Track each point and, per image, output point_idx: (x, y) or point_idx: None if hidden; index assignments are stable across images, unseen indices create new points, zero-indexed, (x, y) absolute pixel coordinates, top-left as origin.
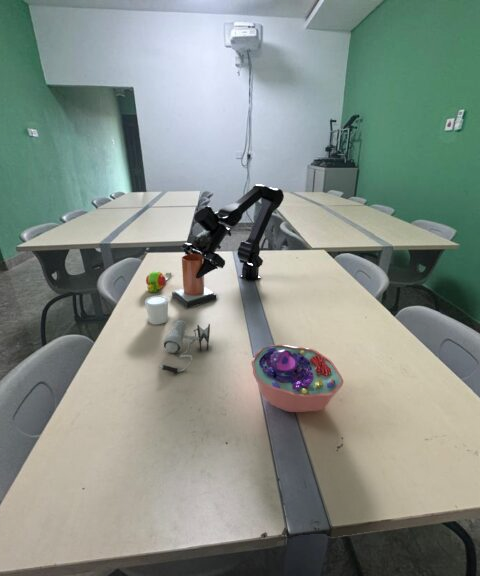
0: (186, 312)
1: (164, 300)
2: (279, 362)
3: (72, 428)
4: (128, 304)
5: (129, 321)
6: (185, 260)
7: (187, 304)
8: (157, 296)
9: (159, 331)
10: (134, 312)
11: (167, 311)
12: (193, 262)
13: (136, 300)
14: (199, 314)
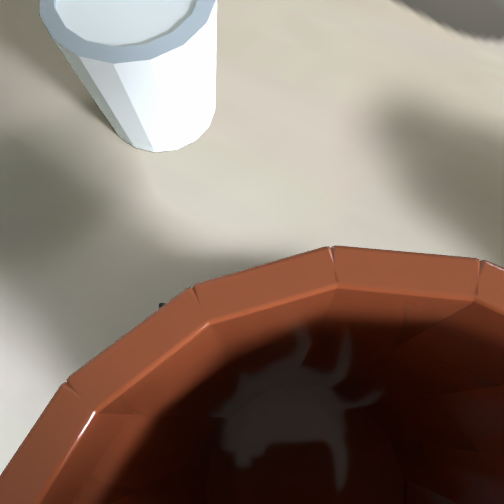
0: (120, 277)
1: (81, 30)
2: None
3: None
4: (458, 63)
5: (254, 2)
6: (260, 270)
7: None
8: (186, 22)
9: (52, 62)
10: (336, 51)
11: (104, 108)
12: (28, 454)
13: (491, 115)
14: (28, 332)
